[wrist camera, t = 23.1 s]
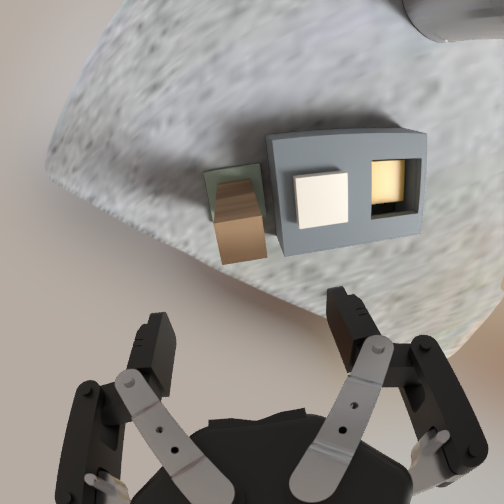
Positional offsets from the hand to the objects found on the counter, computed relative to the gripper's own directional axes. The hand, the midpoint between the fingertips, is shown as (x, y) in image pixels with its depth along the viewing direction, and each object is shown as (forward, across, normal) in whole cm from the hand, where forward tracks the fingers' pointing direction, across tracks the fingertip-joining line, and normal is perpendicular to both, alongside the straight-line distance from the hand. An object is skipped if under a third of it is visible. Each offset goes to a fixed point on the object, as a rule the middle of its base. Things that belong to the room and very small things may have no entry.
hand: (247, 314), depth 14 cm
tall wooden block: (+20, 0, 0) cm, 20 cm away
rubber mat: (+20, 0, 0) cm, 20 cm away
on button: (+18, -8, 0) cm, 19 cm away
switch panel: (+20, -12, 0) cm, 24 cm away
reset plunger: (+20, -17, 0) cm, 26 cm away
